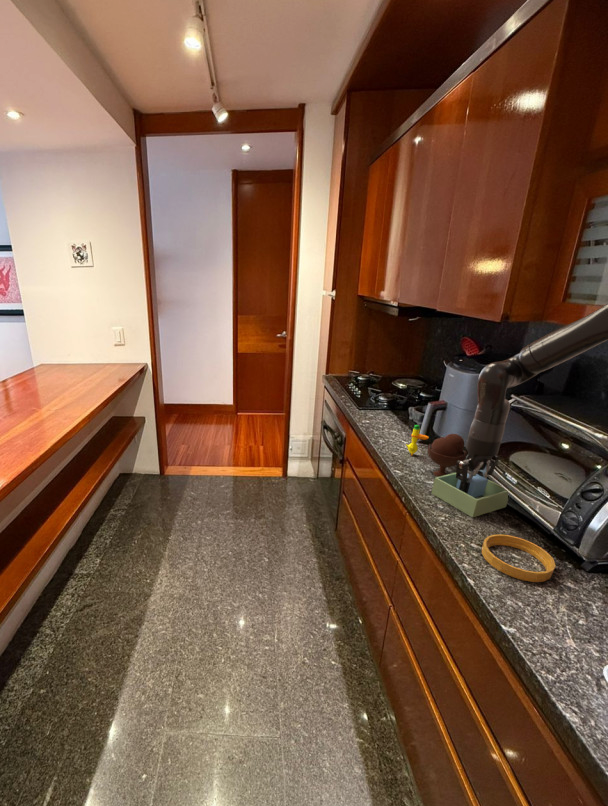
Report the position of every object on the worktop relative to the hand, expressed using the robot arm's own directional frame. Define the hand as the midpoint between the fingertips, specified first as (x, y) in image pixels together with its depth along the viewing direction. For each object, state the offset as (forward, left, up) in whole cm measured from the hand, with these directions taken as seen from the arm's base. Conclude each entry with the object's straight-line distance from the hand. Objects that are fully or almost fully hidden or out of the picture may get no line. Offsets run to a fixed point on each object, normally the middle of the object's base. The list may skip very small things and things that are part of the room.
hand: (470, 490), depth 109 cm
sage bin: (0, 0, -4) cm, 4 cm away
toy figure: (-9, -28, -4) cm, 30 cm away
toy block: (0, 0, -1) cm, 1 cm away
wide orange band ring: (+13, +22, -4) cm, 26 cm away
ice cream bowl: (-6, -14, -4) cm, 16 cm away
